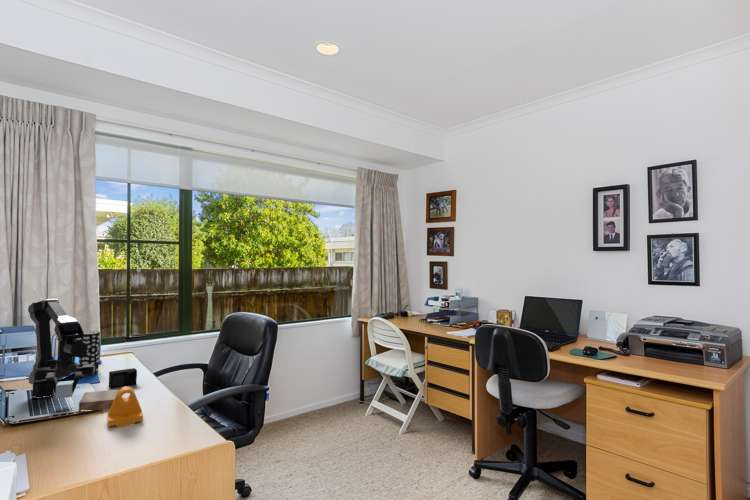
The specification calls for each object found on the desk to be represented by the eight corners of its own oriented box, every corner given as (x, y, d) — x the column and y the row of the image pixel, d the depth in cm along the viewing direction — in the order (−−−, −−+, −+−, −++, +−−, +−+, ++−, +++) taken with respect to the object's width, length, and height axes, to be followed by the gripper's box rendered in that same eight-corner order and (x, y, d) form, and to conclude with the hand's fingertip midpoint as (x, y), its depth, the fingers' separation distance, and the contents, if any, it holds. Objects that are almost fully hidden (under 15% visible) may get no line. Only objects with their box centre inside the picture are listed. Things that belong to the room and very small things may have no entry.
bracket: (107, 428, 147) (109, 394, 148) (107, 421, 153) (108, 388, 154) (142, 422, 153) (144, 389, 154) (140, 416, 159) (142, 384, 160)
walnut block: (78, 413, 161) (79, 403, 161) (84, 402, 172) (84, 392, 172) (118, 409, 167) (118, 399, 167) (121, 398, 178) (121, 389, 178)
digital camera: (111, 389, 187) (111, 374, 188) (108, 386, 191) (108, 371, 192) (137, 385, 195) (137, 370, 195) (133, 382, 199) (134, 367, 199)
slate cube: (55, 398, 162) (56, 385, 162) (58, 394, 167) (58, 381, 167) (71, 397, 164) (71, 384, 165) (73, 393, 169) (74, 380, 169)
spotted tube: (101, 372, 212) (103, 332, 212) (82, 376, 205) (84, 335, 205) (93, 369, 217) (95, 330, 217) (74, 373, 210) (76, 332, 210)
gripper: (31, 359, 154) (29, 402, 154) (92, 355, 163) (90, 396, 163) (38, 353, 164) (36, 393, 164) (96, 349, 173) (94, 388, 173)
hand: (64, 393), depth 166 cm, fingers closed on slate cube, 5 cm apart
